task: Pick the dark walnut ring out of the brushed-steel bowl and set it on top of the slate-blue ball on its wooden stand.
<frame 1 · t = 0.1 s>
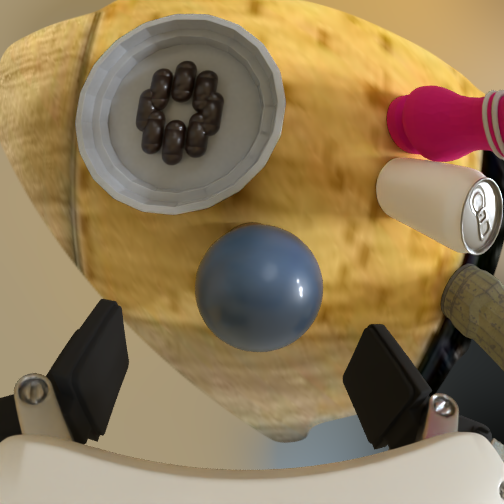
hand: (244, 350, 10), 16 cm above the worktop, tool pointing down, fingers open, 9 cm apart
bowl: (181, 113, 21), on the worktop
can: (398, 187, 25), on the worktop
ball stand: (251, 253, 26), on the worktop
pepper mill: (408, 124, 22), on the worktop
moai statue figurine: (460, 290, 30), on the worktop
ring: (180, 112, 20), point 1 cm above the worktop, touching bowl
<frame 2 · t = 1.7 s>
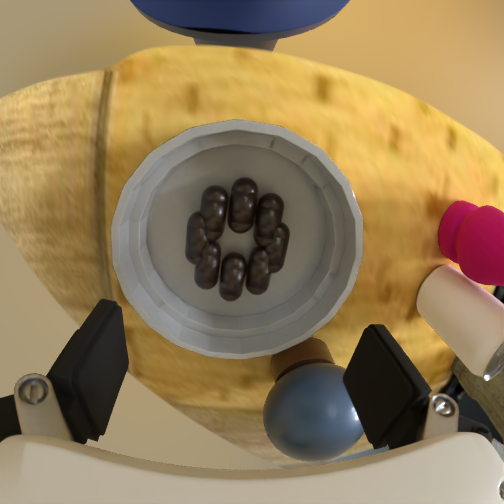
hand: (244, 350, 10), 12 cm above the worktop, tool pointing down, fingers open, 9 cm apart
bowl: (236, 236, 21), on the worktop
can: (435, 289, 25), on the worktop
ball stand: (300, 359, 26), on the worktop
pepper mill: (456, 229, 22), on the worktop
moai statue figurine: (469, 352, 30), on the worktop
ring: (236, 239, 20), point 1 cm above the worktop, touching bowl
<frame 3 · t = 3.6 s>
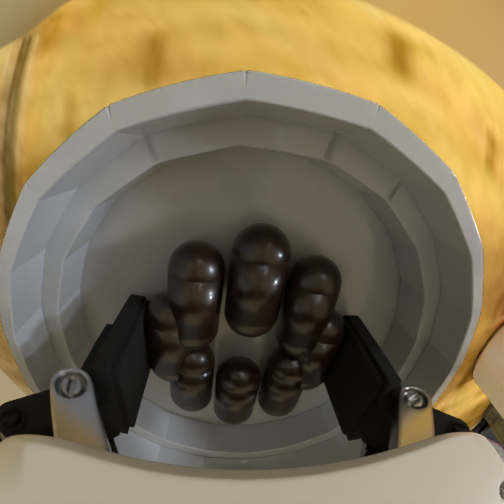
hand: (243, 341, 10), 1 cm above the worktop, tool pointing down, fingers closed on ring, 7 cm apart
bowl: (242, 324, 11), on the worktop
can: (493, 347, 15), on the worktop
moai statue figurine: (503, 394, 21), on the worktop
ring: (243, 333, 10), point 1 cm above the worktop, touching bowl, gripper
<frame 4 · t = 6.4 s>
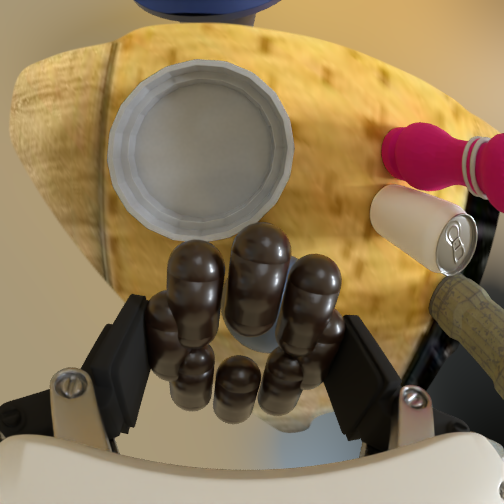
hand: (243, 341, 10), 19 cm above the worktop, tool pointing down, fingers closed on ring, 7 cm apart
bowl: (201, 149, 25), on the worktop
can: (390, 210, 29), on the worktop
ball stand: (263, 269, 30), on the worktop
pepper mill: (401, 153, 27), on the worktop
moai statue figurine: (447, 295, 35), on the worktop
ring: (243, 332, 10), point 19 cm above the worktop, touching gripper
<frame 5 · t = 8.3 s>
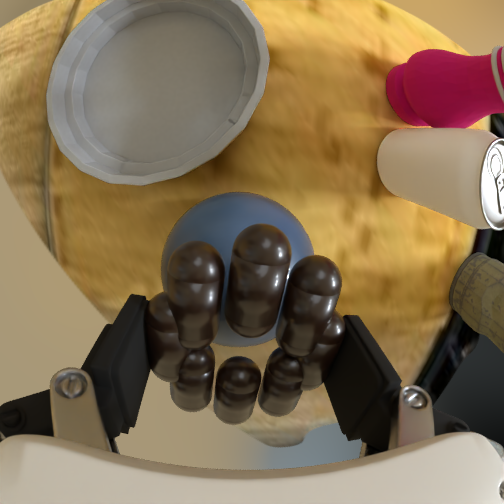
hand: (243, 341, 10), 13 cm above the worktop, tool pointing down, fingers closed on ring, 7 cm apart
bowl: (159, 81, 17), on the worktop
can: (401, 162, 21), on the worktop
ball stand: (236, 234, 23), on the worktop
pepper mill: (410, 95, 19), on the worktop
moai statue figurine: (469, 281, 27), on the worktop
ring: (243, 333, 10), point 13 cm above the worktop, touching gripper
when the fingers open (12 cm above the worktop, at t = 9.5 s): ring stays where it is, resting on ball stand.
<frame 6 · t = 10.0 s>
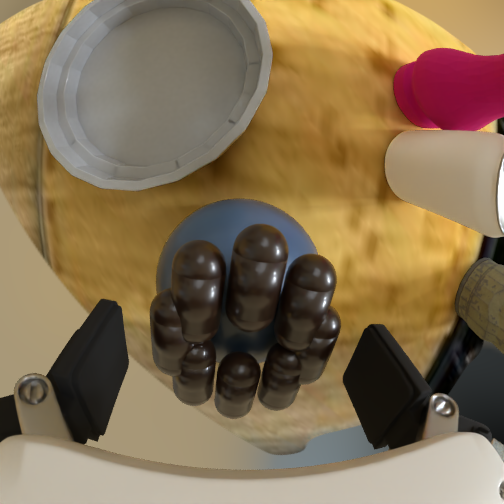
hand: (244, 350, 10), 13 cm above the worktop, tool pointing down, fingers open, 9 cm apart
bowl: (155, 80, 16), on the worktop
can: (409, 166, 20), on the worktop
ball stand: (236, 241, 21), on the worktop
pepper mill: (418, 96, 18), on the worktop
moai statue figurine: (475, 287, 26), on the worktop
ring: (243, 329, 11), point 11 cm above the worktop, touching ball stand
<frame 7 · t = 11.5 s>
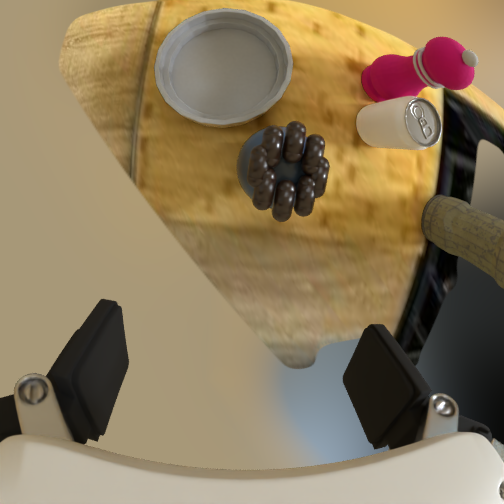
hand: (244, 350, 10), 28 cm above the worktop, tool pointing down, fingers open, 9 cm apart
bowl: (223, 71, 29), on the worktop
can: (373, 126, 33), on the worktop
ball stand: (270, 164, 35), on the worktop
pepper mill: (378, 84, 31), on the worktop
moai statue figurine: (437, 218, 39), on the worktop
ring: (287, 170, 24), point 11 cm above the worktop, touching ball stand
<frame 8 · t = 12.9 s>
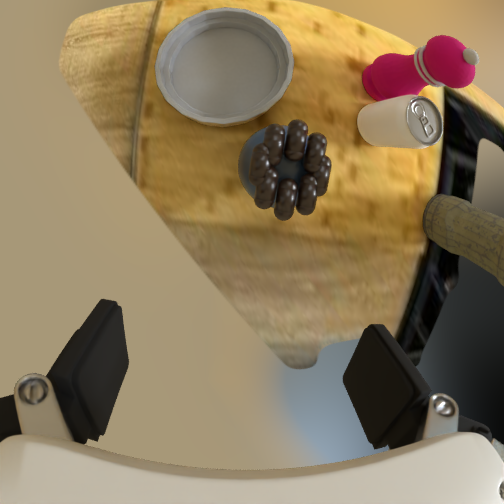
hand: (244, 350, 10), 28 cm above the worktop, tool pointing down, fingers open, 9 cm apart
bowl: (224, 70, 29), on the worktop
can: (374, 125, 33), on the worktop
ball stand: (271, 163, 34), on the worktop
pepper mill: (379, 83, 31), on the worktop
moai statue figurine: (438, 217, 39), on the worktop
ring: (288, 169, 24), point 11 cm above the worktop, touching ball stand
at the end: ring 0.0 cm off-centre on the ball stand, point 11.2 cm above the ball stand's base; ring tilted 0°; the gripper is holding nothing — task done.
